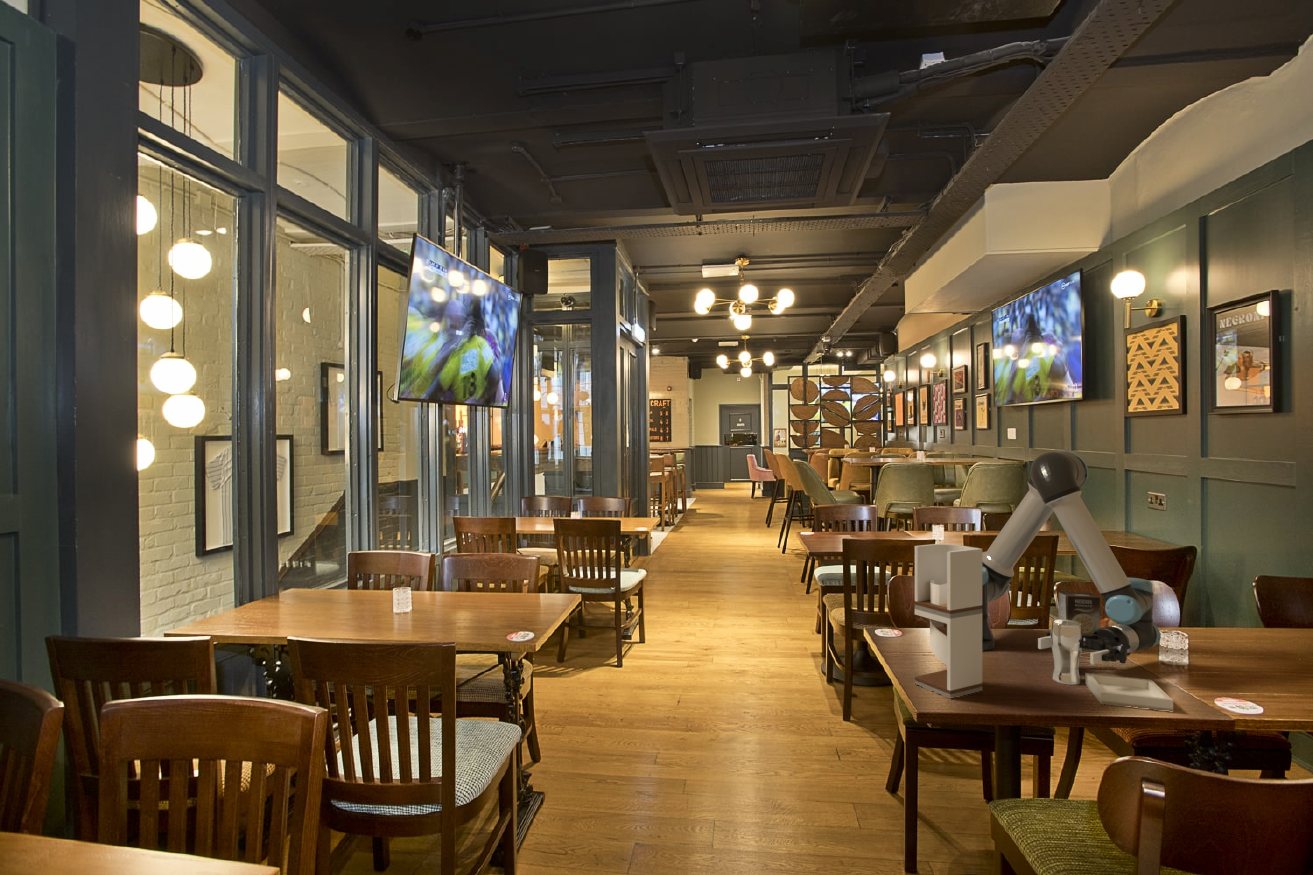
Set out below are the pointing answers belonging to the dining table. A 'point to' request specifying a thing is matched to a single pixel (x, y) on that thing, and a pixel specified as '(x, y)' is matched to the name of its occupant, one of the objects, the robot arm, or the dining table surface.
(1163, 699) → the dish
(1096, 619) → the coffee box
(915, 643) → the dining table surface
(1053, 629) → the beer glass
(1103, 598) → the robot arm
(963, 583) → the tall white shelf unit
